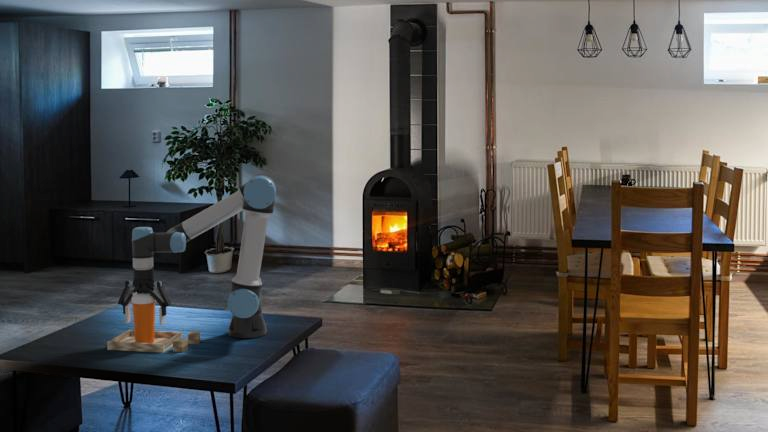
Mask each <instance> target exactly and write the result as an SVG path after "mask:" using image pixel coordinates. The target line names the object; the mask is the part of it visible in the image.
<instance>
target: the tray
mask: <svg viewBox="0 0 768 432" xmlns="http://www.w3.org/2000/svg"><path fill="white" fill-rule="evenodd" d="M178 338H182V339H183V332H182V331H165V330H164V331H160V330H155V339H154V342H153V343H136V342H135V333H134V329H128V330H126V331H124V332H122V333H121V334H119V335H117V336H115V337H112V339H110V340H108V341H106V346H107V348H106V349H107V350H108V351H128V352H147V353H148V352H149V353H165V352H166V351H168V350H170V349H172V348H173V340H176V339H178Z"/></svg>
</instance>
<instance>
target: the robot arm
mask: <svg viewBox="0 0 768 432" xmlns="http://www.w3.org/2000/svg"><path fill="white" fill-rule="evenodd" d="M277 193H278V185H277V182H276V181H275V179H274V178H273V177H271V176H270V175H268V174H265V173H259V174H256V175H253V176H252V177H251V178H249V180H247V182H245V183H243V184H242V185H241V186H239V187H238V188H237V191H235V192H234V193H232V194H229V196H227V197H225V198H223V199H221V200H219V201H217V202H216V203H214V204H212V205H210V206H208V208H205V209H203V210H202V211H200V212H198V213H196V214H195V215H192V216H191V217H190V218H188V219H186V220H184V221H182V222H181V223H179V224H177V225H175V226H173V227H171V228H169V229H168V230H167V231H166V232H155V231H153V228H152V227H150V226H137V227H134V228H133V229H132V232H131V249H132V250H131V251H132V268H133V269H132V278H133V279H132V280H131V279H128V280H125V283H124V288H123V290H122V293H121V294H120V297H119V300H118V301H117V304H118V305H121V306H122V313H123V315H125V324H127V325H128V324H129V323H131V305H130V302H131V298H132V296H133V293H135V292H136V291H138V292H139V293H147V292H141V291H148V292H149V294H151V295H152V296H153V298H154V299H155V300H156V302H157V304H158V305H159V306H160V307H159V308H158V310H159V311H158V312H159V317H158V318H159V325H160V326H163V325H164V324H165V316H167V307H169V306H171V305H172V302H171V300H170V298H169V296H168V293H167V292H166V290H165V288H164V286H163V280H159V281H155V272H154V271H155V269H154V265H155V264H154V254H155V253H175V254H177V253H183V252H185V251H186V248H187V242H190V241H191V240H193V239H195V238H196V237H198V236H199V235H201V234H203V233H205V232H208V231H209V230H210V229H212V228H214V227H215V226H217V225H219V224H221V223H223V222H225V221H226V220H228V219H230V218H232V217H234V216H235V215H237V214H239V213H241V212H242V211H243V213H244V214H245V216H244V222H243V229H242V236H241V241H240V242H241V243H240V248H239V249H240V250H239V256H238V257H239V258H238V263H237V269H236V275H235V276H234V277H233V278H231V281H230V282H231V283H230V291H229V296H228V297H227V302H226V303H227V307H228V311H229V312H230V313H231V319H230V322H229V324H228V328H227V330H228V332H227V334H228V336H229V337H232V338H237V339H255V338H260V337H263V336H265V335H266V334H267V325H266V322H265V319H264V316H263V311H262V310H263V307H262V306H263V304H262V301H263V300H262V298H263V297H262V295H263V294H262V293H263V292H262V288H263V282H262V278H261V277H260V275H261V267H262V261H263V255H264V250H265V249H264V248H265V243H266V242H265V240H266V235H267V228H268V227H267V226H268V223H269V218H270V216H272V215H273V214H274V209H275V208H274V207H275V202H276V201H275V200H276V197H277ZM132 286H133V288H134V289H133V290H132V291H131V293H130V294H129V291H130V289H131V287H132ZM156 288H157V289H156ZM157 291H158V292H159V293H158V292H157ZM128 294H129V295H128ZM127 296H128V297H127ZM126 297H127V298H126Z"/></svg>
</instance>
